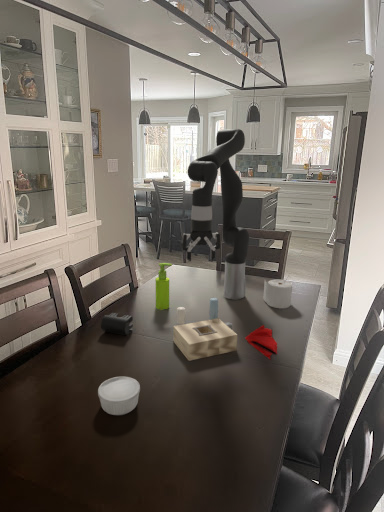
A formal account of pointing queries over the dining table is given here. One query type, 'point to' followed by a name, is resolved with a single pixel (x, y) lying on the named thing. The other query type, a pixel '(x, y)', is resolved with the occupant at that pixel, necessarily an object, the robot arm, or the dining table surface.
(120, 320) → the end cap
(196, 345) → the hole block
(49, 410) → the dining table surface
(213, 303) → the long pin
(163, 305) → the soap dispenser
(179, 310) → the medium pin
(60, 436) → the dining table surface
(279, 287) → the toilet tissue
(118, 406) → the ramekin
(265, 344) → the cloth
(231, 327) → the short pin
